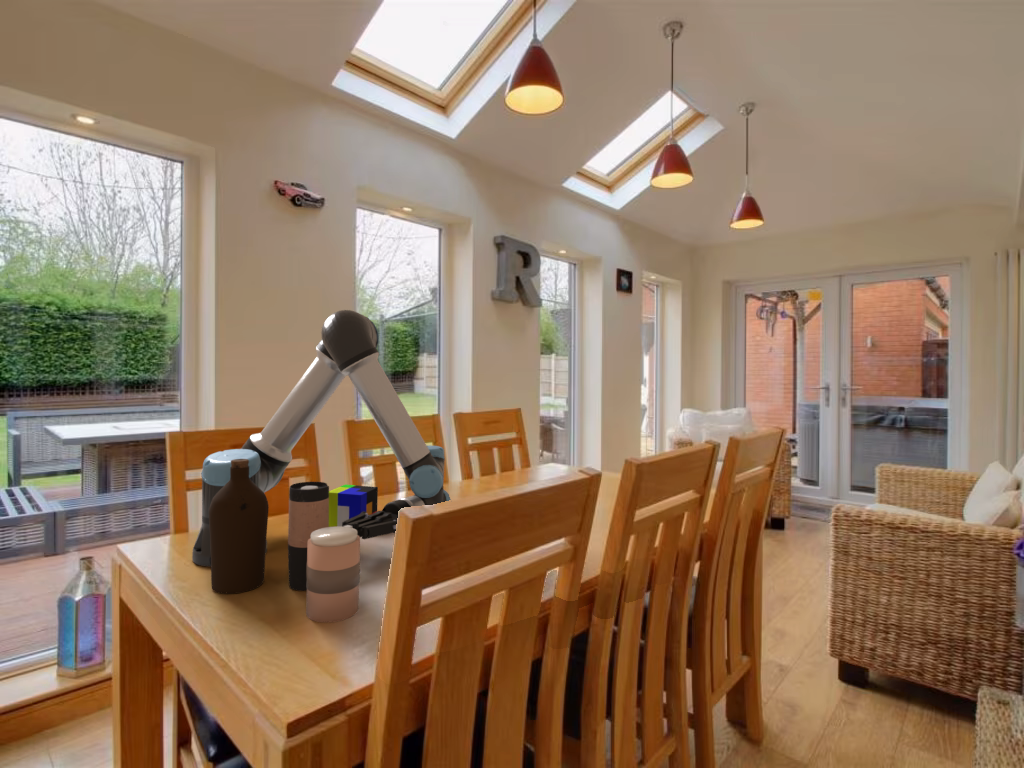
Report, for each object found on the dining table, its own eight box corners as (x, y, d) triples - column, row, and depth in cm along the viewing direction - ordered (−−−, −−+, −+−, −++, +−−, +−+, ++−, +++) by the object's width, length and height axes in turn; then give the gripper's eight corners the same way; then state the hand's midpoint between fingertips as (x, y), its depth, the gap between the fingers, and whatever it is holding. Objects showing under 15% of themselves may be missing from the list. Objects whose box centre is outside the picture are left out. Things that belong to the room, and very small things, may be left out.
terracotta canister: (298, 622, 93) (300, 541, 93) (314, 599, 102) (315, 525, 102) (353, 622, 94) (354, 541, 93) (363, 599, 103) (365, 525, 103)
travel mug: (278, 588, 107) (280, 487, 106) (304, 574, 114) (305, 480, 114) (311, 594, 105) (313, 491, 104) (335, 579, 112) (337, 483, 111)
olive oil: (279, 580, 111) (281, 458, 110) (233, 600, 101) (235, 467, 100) (242, 570, 115) (244, 453, 114) (195, 588, 105) (196, 461, 105)
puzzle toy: (360, 532, 143) (360, 495, 143) (325, 529, 145) (326, 492, 145) (376, 522, 153) (377, 487, 153) (344, 519, 155) (345, 484, 155)
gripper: (423, 534, 130) (347, 563, 110) (383, 524, 137) (305, 550, 116) (424, 503, 130) (348, 527, 109) (384, 495, 136) (305, 516, 116)
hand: (326, 539), depth 113 cm, fingers closed
